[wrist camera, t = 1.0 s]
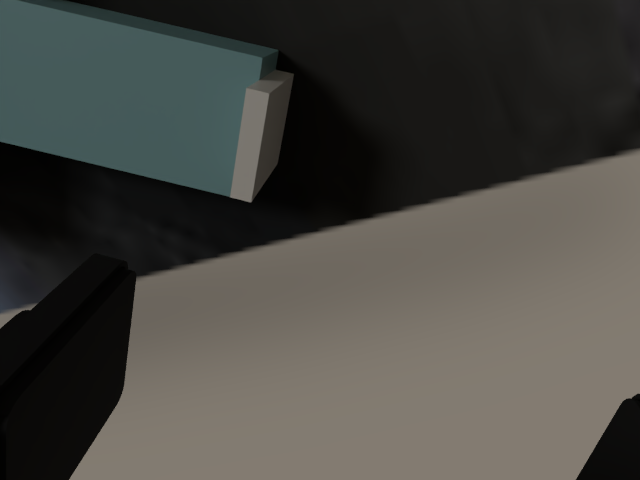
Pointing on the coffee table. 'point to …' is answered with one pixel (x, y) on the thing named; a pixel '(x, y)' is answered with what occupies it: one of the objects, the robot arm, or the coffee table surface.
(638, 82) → the coffee table surface
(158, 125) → the teal shell
